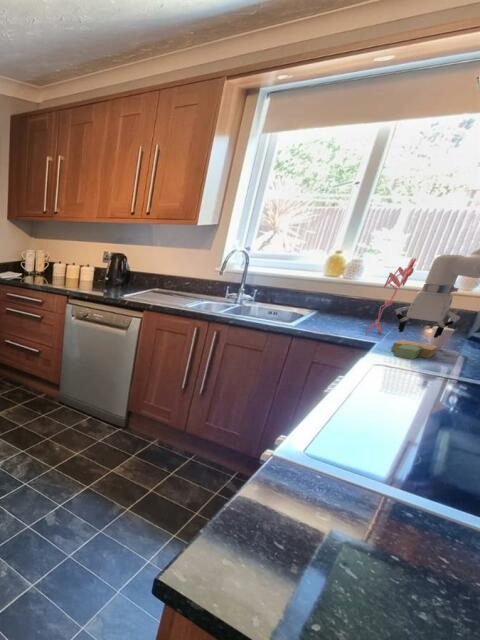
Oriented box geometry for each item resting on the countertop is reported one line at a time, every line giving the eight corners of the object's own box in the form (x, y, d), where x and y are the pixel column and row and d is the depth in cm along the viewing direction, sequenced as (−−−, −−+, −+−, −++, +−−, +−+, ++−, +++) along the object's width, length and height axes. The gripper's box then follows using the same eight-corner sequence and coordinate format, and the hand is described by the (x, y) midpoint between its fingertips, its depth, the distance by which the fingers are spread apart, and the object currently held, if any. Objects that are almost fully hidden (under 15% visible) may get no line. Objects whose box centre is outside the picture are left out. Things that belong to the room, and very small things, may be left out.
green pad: (419, 355, 167) (423, 347, 166) (412, 359, 161) (416, 350, 160) (400, 351, 171) (404, 343, 170) (393, 355, 166) (397, 347, 164)
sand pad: (434, 354, 170) (438, 346, 169) (428, 358, 164) (432, 349, 163) (397, 347, 178) (401, 339, 177) (390, 350, 172) (394, 342, 171)
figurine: (361, 336, 195) (393, 257, 182) (364, 327, 212) (393, 255, 199) (407, 343, 185) (444, 261, 172) (406, 334, 203) (439, 258, 190)
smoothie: (448, 354, 171) (464, 320, 166) (428, 352, 173) (444, 318, 168) (437, 350, 177) (453, 317, 172) (418, 347, 179) (433, 315, 174)
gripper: (473, 292, 151) (452, 338, 158) (407, 285, 165) (390, 328, 171) (469, 293, 147) (448, 341, 154) (402, 286, 161) (385, 330, 167)
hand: (417, 334), depth 162 cm, fingers open, 9 cm apart
